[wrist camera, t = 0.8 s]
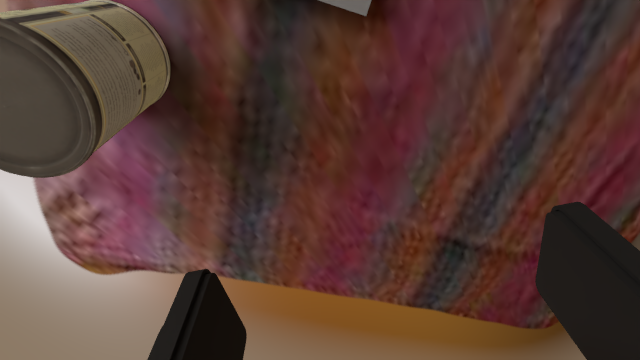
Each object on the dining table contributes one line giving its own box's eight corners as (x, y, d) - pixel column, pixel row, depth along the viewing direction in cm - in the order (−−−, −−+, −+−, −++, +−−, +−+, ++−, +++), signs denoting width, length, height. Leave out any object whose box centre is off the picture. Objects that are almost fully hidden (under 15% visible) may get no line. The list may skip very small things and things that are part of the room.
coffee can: (131, 128, 37) (43, 203, 25) (39, 50, 32) (-124, 95, 20) (194, 66, 33) (127, 117, 21) (100, -29, 29) (-49, -32, 17)
